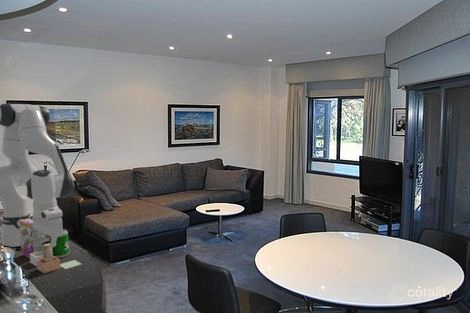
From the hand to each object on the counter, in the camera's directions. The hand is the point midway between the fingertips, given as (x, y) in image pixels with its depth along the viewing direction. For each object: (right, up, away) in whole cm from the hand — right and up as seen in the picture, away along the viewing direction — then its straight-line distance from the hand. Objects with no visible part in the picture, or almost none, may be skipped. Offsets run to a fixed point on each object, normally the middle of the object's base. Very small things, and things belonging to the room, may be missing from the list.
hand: (48, 243), depth 165 cm
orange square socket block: (0, -11, +1) cm, 11 cm away
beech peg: (0, -11, +1) cm, 11 cm away
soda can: (-2, -10, +17) cm, 19 cm away
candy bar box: (-15, -10, +17) cm, 25 cm away
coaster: (+7, -10, +6) cm, 14 cm away
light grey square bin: (-7, -10, +9) cm, 15 cm away
